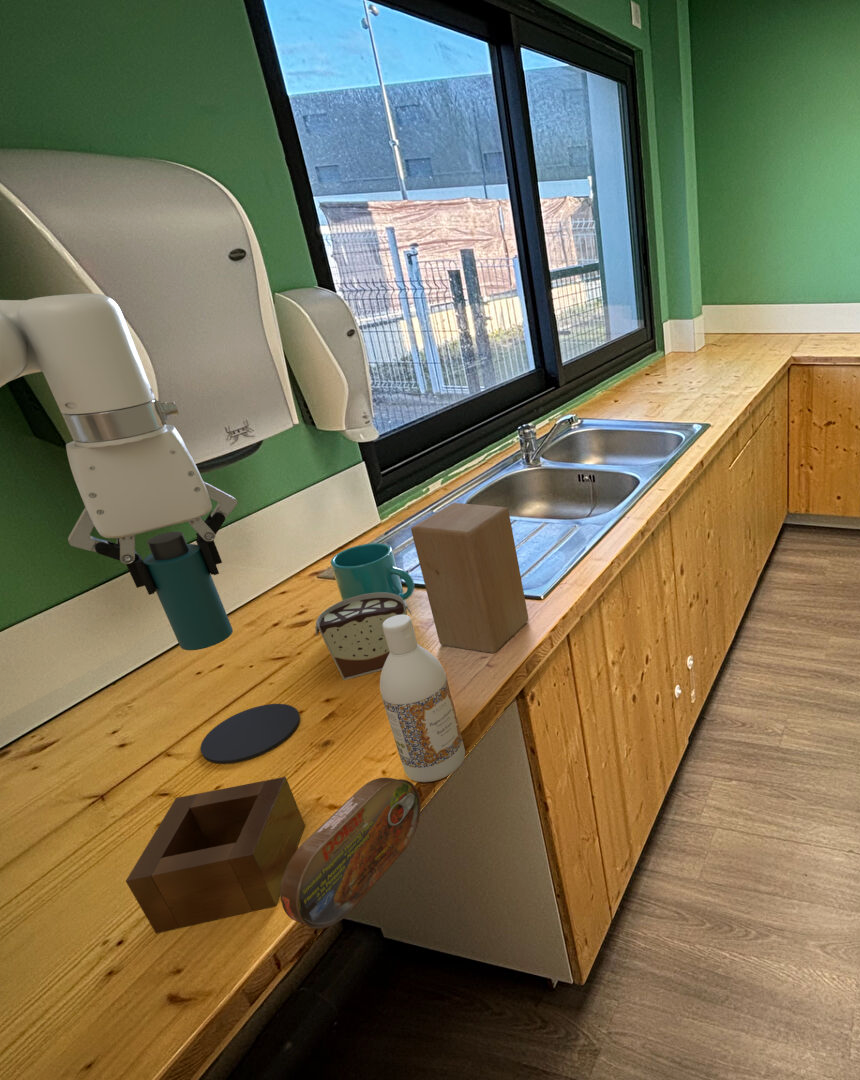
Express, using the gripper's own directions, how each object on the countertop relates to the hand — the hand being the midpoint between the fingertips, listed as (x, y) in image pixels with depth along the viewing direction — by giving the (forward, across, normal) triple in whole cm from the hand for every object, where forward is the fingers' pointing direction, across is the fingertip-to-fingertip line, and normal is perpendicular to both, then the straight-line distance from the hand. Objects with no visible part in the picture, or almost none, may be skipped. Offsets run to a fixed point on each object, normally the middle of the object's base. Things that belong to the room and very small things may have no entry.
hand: (182, 578), depth 78 cm
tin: (+24, -3, +32) cm, 40 cm away
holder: (+24, +6, +22) cm, 33 cm away
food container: (+24, -18, -7) cm, 31 cm away
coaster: (+24, -1, -2) cm, 24 cm away
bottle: (+8, 0, 0) cm, 8 cm away
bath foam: (+24, -15, +21) cm, 35 cm away
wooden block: (+24, -33, -2) cm, 41 cm away
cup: (+24, -24, -20) cm, 39 cm away
